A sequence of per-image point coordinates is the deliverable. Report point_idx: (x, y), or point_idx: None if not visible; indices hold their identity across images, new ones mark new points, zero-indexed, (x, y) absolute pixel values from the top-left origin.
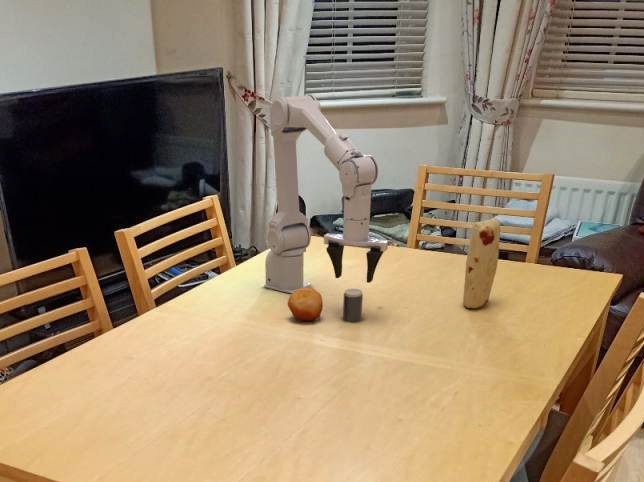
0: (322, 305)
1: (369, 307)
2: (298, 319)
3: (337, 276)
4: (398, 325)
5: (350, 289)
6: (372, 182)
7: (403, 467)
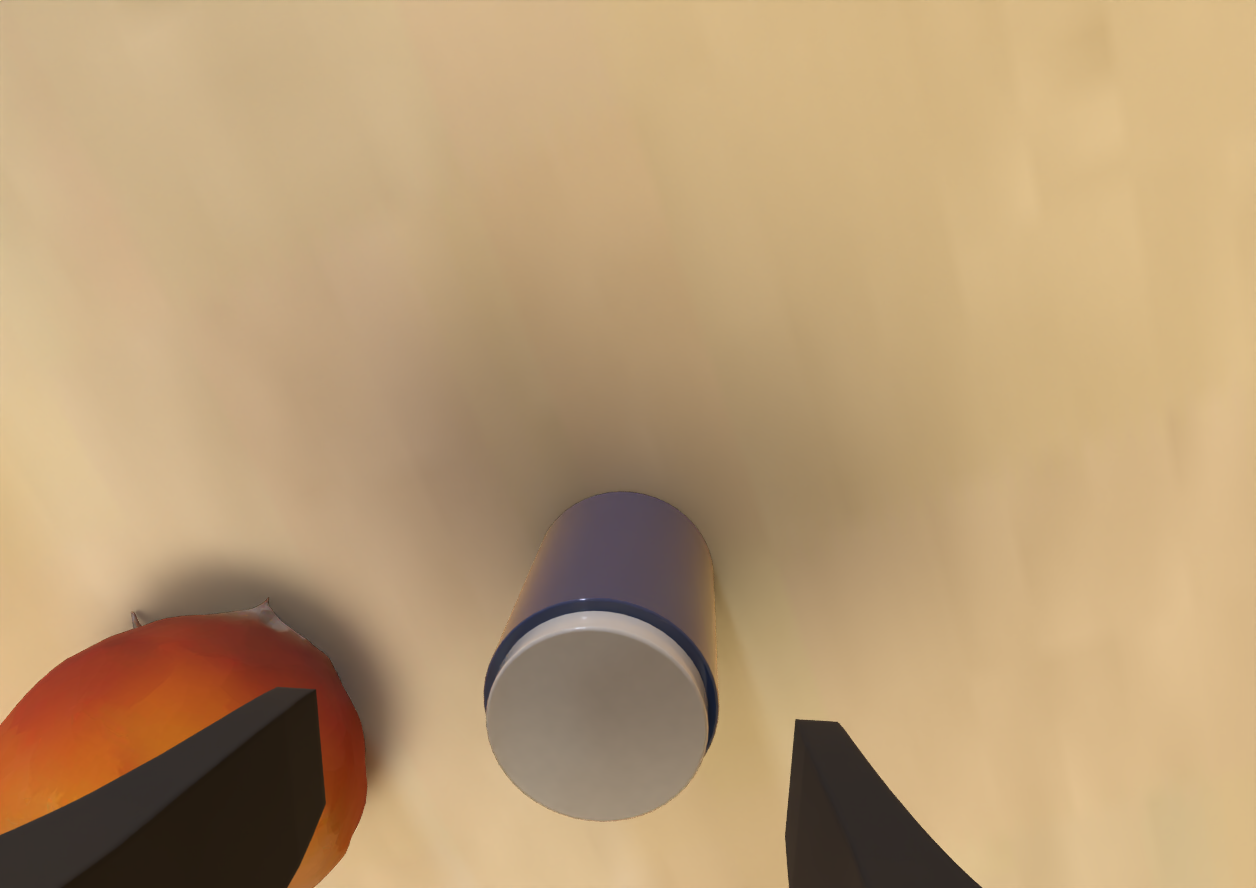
0: (343, 782)
1: (678, 203)
2: None
3: (307, 830)
4: (1092, 576)
5: (534, 677)
6: None
7: None
